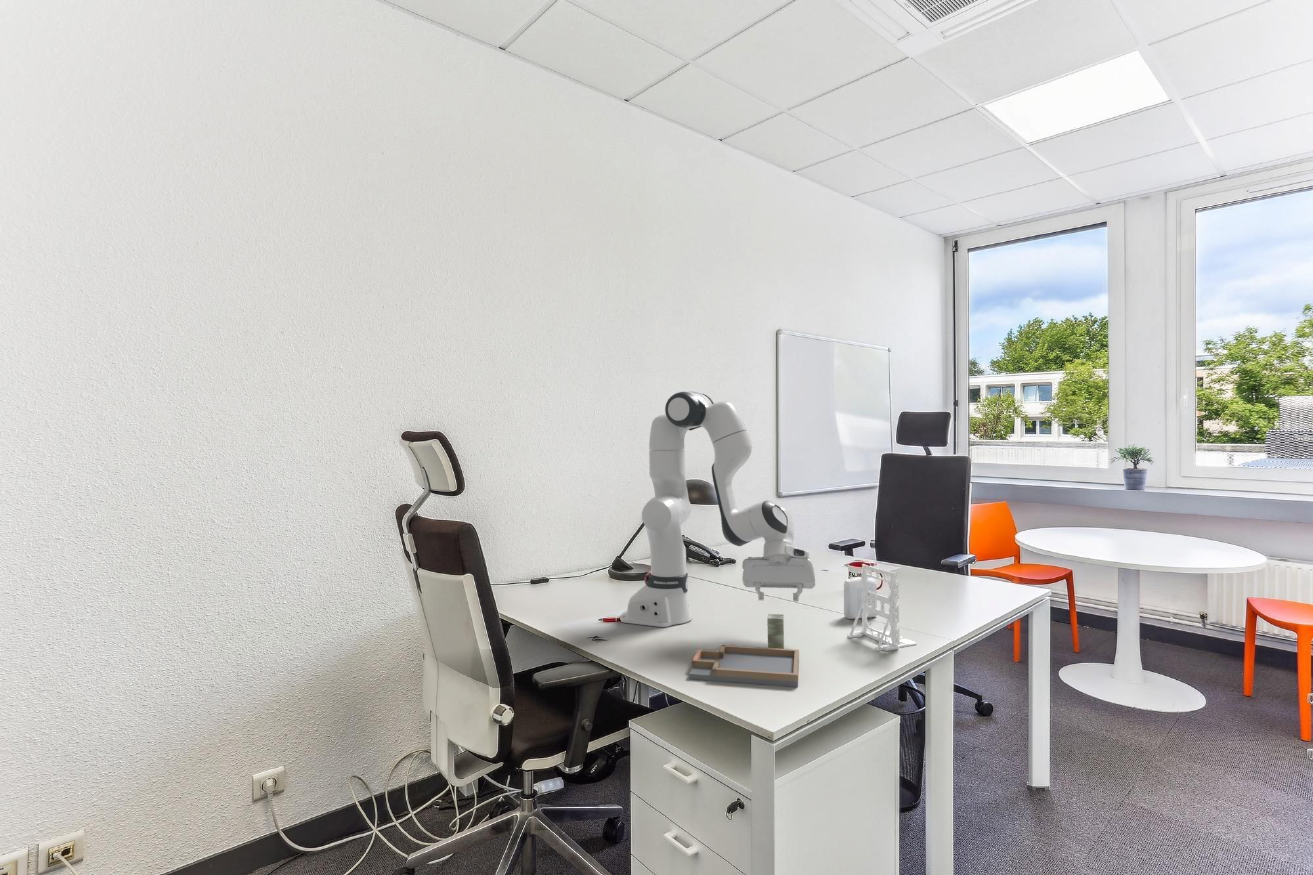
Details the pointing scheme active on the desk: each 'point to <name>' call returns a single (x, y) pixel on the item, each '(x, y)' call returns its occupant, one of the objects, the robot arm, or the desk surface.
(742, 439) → the robot arm
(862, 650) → the desk surface
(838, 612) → the desk surface
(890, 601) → the white perforated frame
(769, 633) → the green peg
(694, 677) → the keyhole dock
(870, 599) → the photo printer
